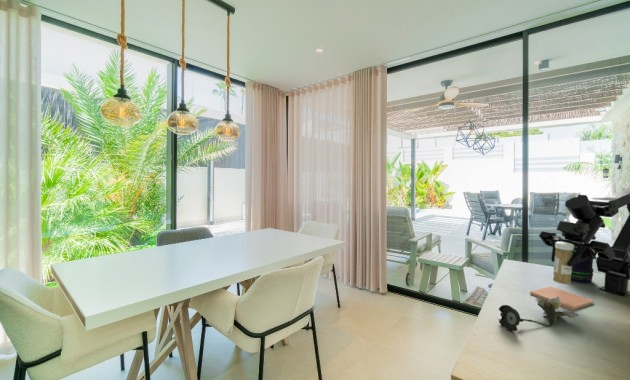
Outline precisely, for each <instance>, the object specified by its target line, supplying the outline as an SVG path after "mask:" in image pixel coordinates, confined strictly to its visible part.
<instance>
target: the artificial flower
mask: <svg viewBox="0 0 630 380" xmlns="http://www.w3.org/2000/svg"><path fill="white" fill-rule="evenodd" d="M534 300H535V301H536V302H537V306H538V307H540V308H541V309H542V310H543V312H542V315H546V318H547V319H548V324H547V323H544V322H539V321H537V320H533V319H524V318H521V314H520V313H519V312H518V310H517V309H516V308H514V307H512V306H511V305H508V304H502V305H500V307H499V308H498V311H499V312H500V316H501V318H497V320H498V322H499V324H500V326H501V327H502V328H506V331H511V332H517V331H518V329H519V328H518V327H517V326H519V325H520V323H523V322H524V321H525V322H530V323H536V324H538V325H541V326H545V327H552V326H555V324H557V323H558V317H561V318H562V317H565V316H566V317H569V318H575V317H579V316H580V315H579V313H577V312H575V311H574V310H571V311H570V310H569V311H568V310H565V311H564V310H562V311H561V310H559V309H560V307H561V306H560V305H561V301H560V299H559V296H557V297H556V298H553V299H549V298H546V300H545V299H544V298H542V297H536V298H534ZM557 310H558V311H557Z"/></svg>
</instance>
